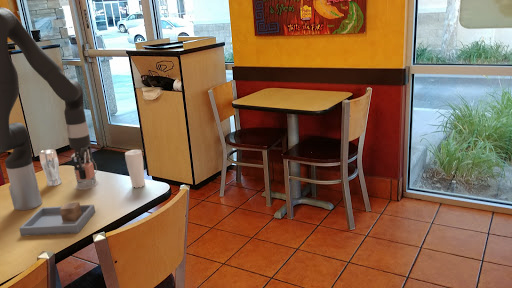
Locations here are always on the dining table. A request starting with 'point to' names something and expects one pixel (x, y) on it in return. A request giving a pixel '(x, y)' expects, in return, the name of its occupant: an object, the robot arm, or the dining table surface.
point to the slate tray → (55, 221)
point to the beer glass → (50, 166)
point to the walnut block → (70, 212)
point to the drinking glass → (135, 167)
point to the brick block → (87, 171)
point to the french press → (86, 181)
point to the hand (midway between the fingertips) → (86, 175)
